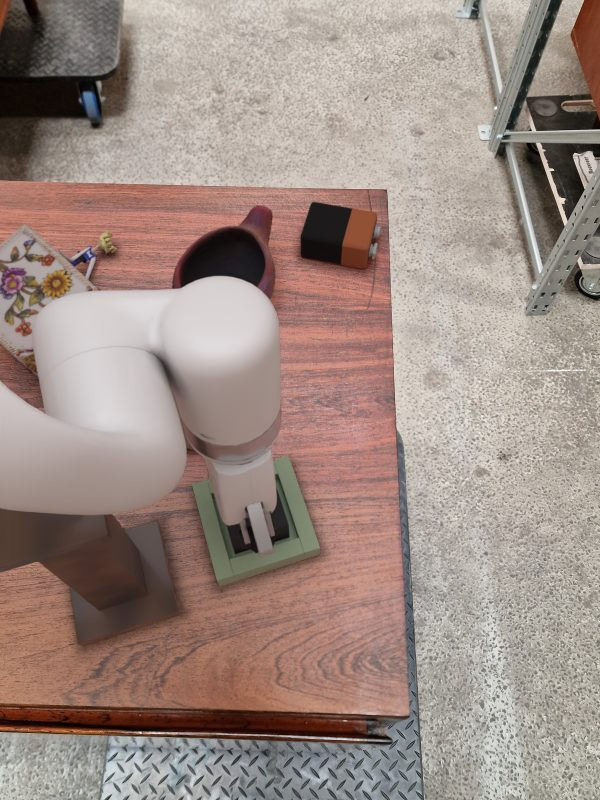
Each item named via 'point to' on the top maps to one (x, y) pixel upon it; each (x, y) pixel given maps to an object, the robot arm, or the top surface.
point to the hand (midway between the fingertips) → (244, 496)
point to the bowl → (232, 254)
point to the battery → (339, 235)
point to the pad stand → (95, 567)
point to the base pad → (285, 551)
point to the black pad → (278, 520)
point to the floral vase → (31, 288)
